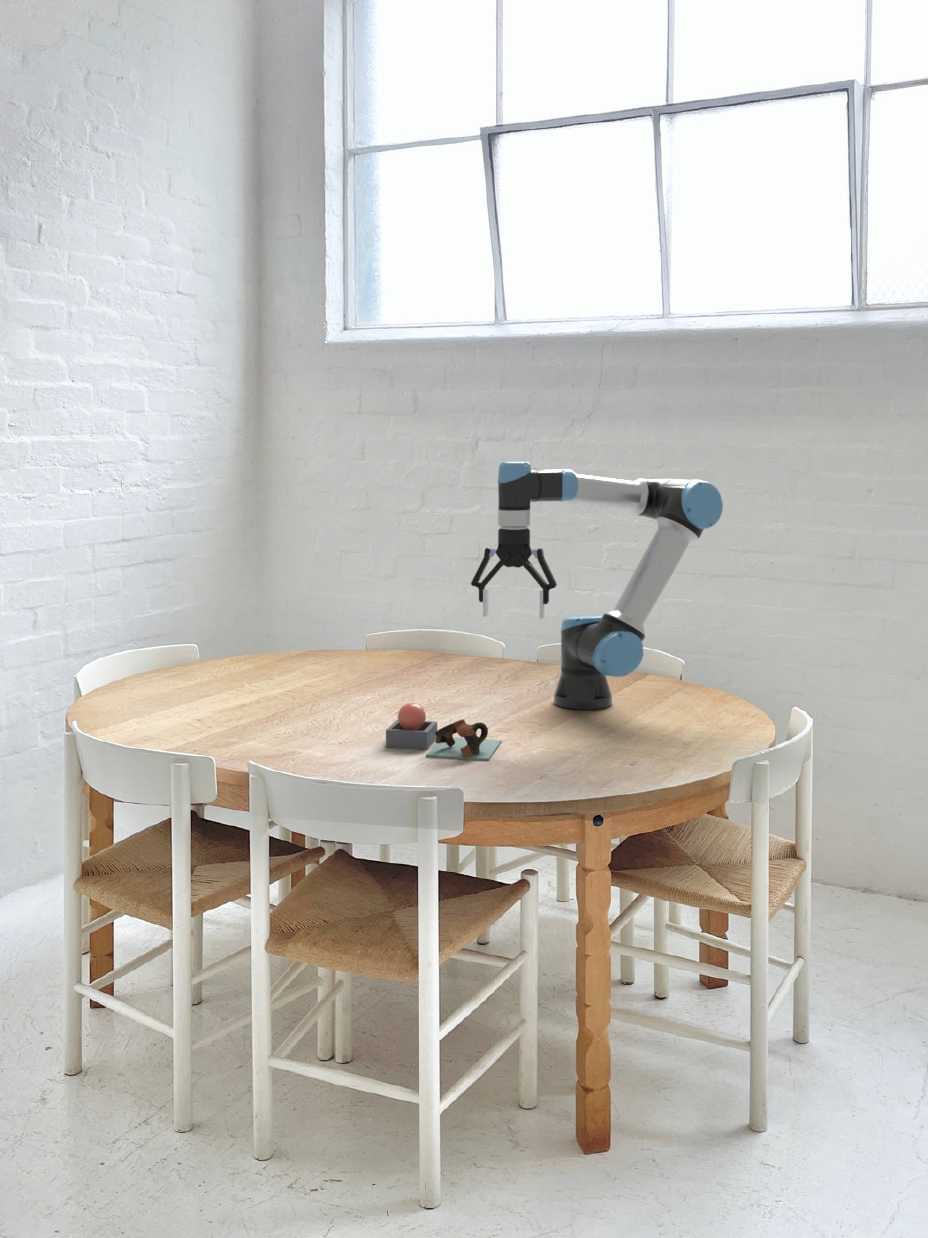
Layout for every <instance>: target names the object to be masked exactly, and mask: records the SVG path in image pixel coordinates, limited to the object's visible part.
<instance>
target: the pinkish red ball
mask: <svg viewBox="0 0 928 1238" xmlns="http://www.w3.org/2000/svg"><path fill="white" fill-rule="evenodd" d="M397 719H398V721H399V724H400V725H401V726H402V727H403V728H404V729H406V730H418V729H420V728H421V727H422V726H423V725H424V723H425V721H427V720H426V719H427V716H426V711H425V709H424V708H423V707H422V706H421V705H420V704H418V703H416V702H409V703H405V704H404V705H403V706H401V707H400V709H399V710H398V714H397Z"/></svg>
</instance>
